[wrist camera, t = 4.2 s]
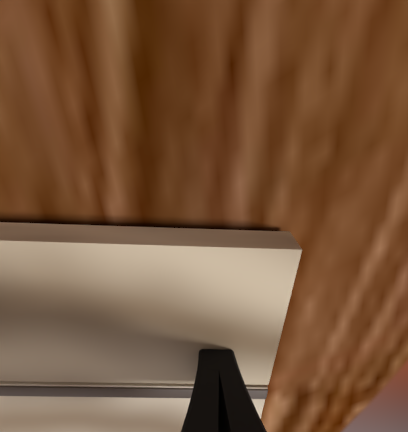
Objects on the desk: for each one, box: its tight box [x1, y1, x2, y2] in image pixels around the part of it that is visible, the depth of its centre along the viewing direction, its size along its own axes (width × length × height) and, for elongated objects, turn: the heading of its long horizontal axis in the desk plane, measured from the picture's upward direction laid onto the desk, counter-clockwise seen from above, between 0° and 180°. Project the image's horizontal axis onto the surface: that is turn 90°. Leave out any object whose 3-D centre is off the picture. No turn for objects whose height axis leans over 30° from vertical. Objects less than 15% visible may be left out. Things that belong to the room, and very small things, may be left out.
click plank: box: [0, 222, 302, 385], centre depth 10 cm, size 7×13×1 cm, turn 88°
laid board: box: [0, 381, 268, 432], centre depth 13 cm, size 7×13×1 cm, turn 87°
